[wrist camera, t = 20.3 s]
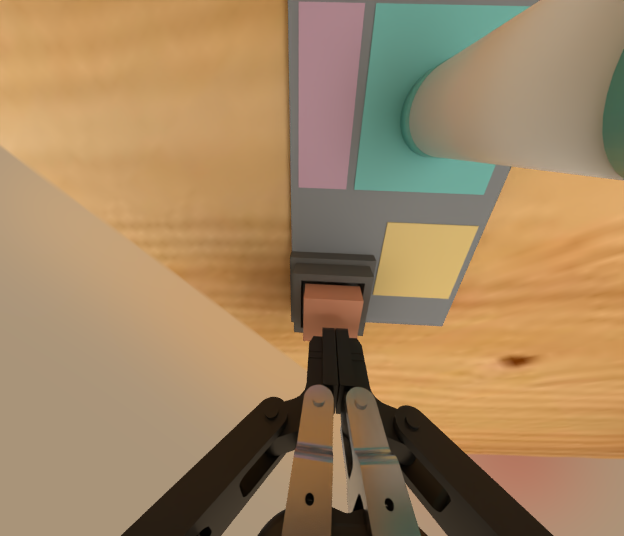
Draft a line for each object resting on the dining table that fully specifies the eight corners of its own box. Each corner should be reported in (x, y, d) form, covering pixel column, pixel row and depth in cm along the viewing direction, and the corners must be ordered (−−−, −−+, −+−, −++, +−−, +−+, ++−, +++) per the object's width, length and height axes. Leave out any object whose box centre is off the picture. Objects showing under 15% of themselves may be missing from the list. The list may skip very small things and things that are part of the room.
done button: (305, 283, 15) (303, 298, 13) (359, 286, 15) (363, 301, 13) (304, 323, 16) (303, 340, 15) (353, 326, 16) (355, 343, 15)
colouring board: (290, -17, 10) (277, -84, 7) (571, -12, 10) (679, -80, 7) (294, 310, 20) (289, 340, 17) (436, 318, 20) (457, 349, 17)
